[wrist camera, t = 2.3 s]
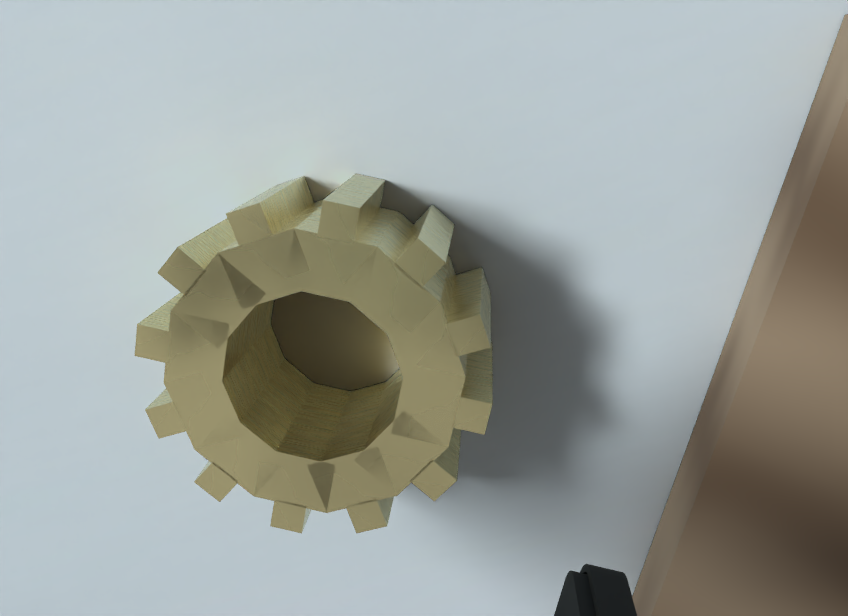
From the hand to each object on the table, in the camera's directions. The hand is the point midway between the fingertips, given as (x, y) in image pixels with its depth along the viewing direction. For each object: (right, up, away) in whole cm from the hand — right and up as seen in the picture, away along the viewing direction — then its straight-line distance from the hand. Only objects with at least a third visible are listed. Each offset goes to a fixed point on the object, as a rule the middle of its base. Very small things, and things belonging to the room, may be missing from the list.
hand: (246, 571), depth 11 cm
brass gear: (+1, +4, +7) cm, 8 cm away
